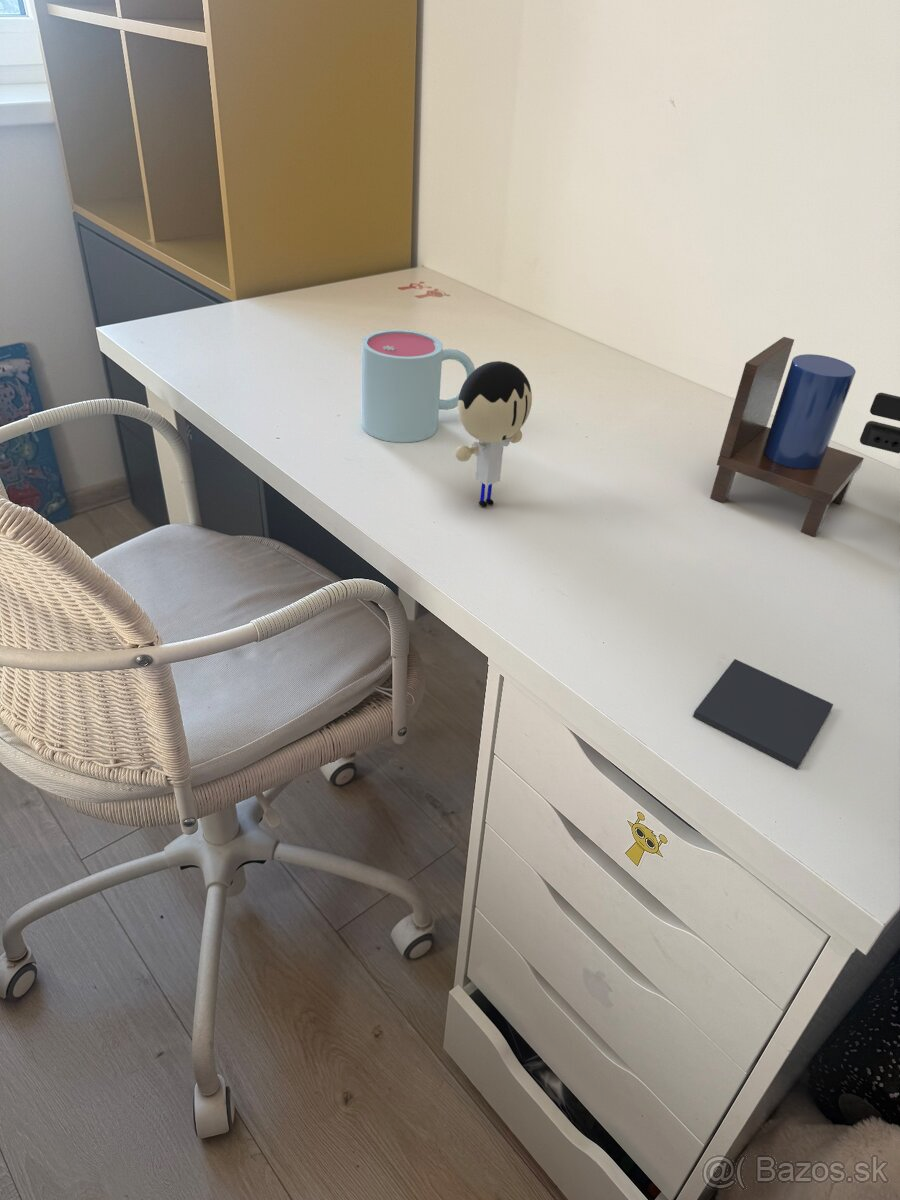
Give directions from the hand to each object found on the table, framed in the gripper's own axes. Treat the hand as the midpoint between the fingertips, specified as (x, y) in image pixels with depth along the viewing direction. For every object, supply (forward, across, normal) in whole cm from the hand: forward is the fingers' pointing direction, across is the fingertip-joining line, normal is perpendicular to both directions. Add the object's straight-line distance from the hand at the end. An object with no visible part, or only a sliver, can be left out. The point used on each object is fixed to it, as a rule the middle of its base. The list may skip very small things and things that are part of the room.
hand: (867, 416), depth 82 cm
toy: (+32, +20, +11) cm, 39 cm away
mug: (+47, +7, +11) cm, 49 cm away
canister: (+6, 0, +6) cm, 8 cm away
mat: (0, +36, +11) cm, 38 cm away
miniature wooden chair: (+6, 0, +11) cm, 12 cm away
